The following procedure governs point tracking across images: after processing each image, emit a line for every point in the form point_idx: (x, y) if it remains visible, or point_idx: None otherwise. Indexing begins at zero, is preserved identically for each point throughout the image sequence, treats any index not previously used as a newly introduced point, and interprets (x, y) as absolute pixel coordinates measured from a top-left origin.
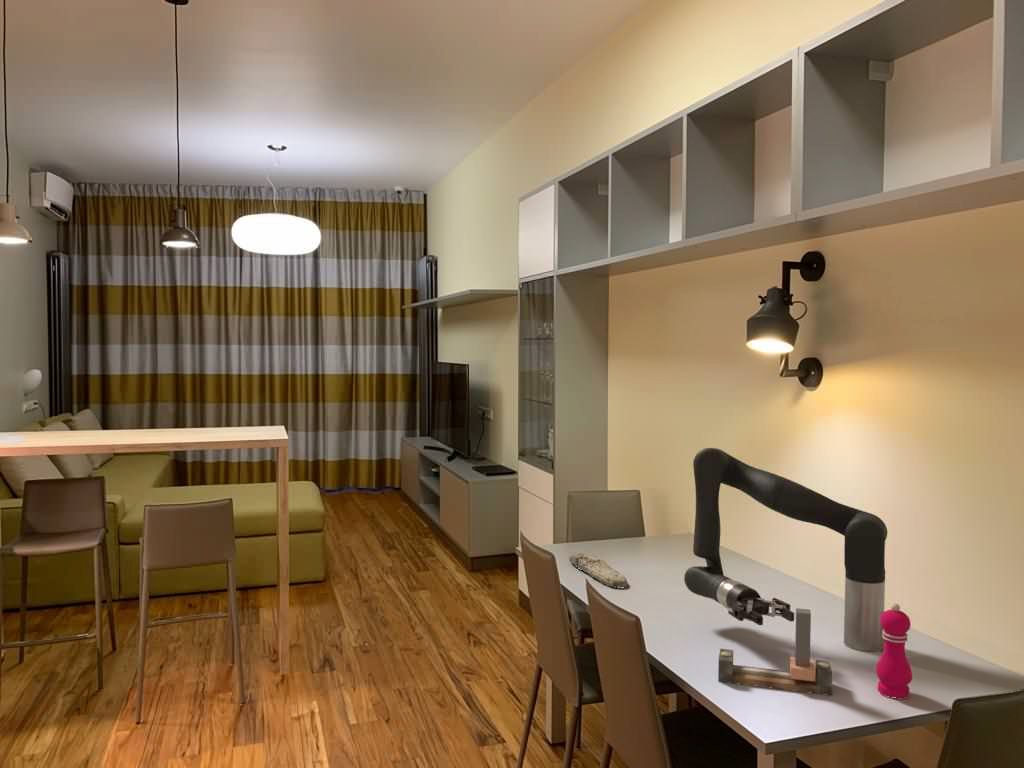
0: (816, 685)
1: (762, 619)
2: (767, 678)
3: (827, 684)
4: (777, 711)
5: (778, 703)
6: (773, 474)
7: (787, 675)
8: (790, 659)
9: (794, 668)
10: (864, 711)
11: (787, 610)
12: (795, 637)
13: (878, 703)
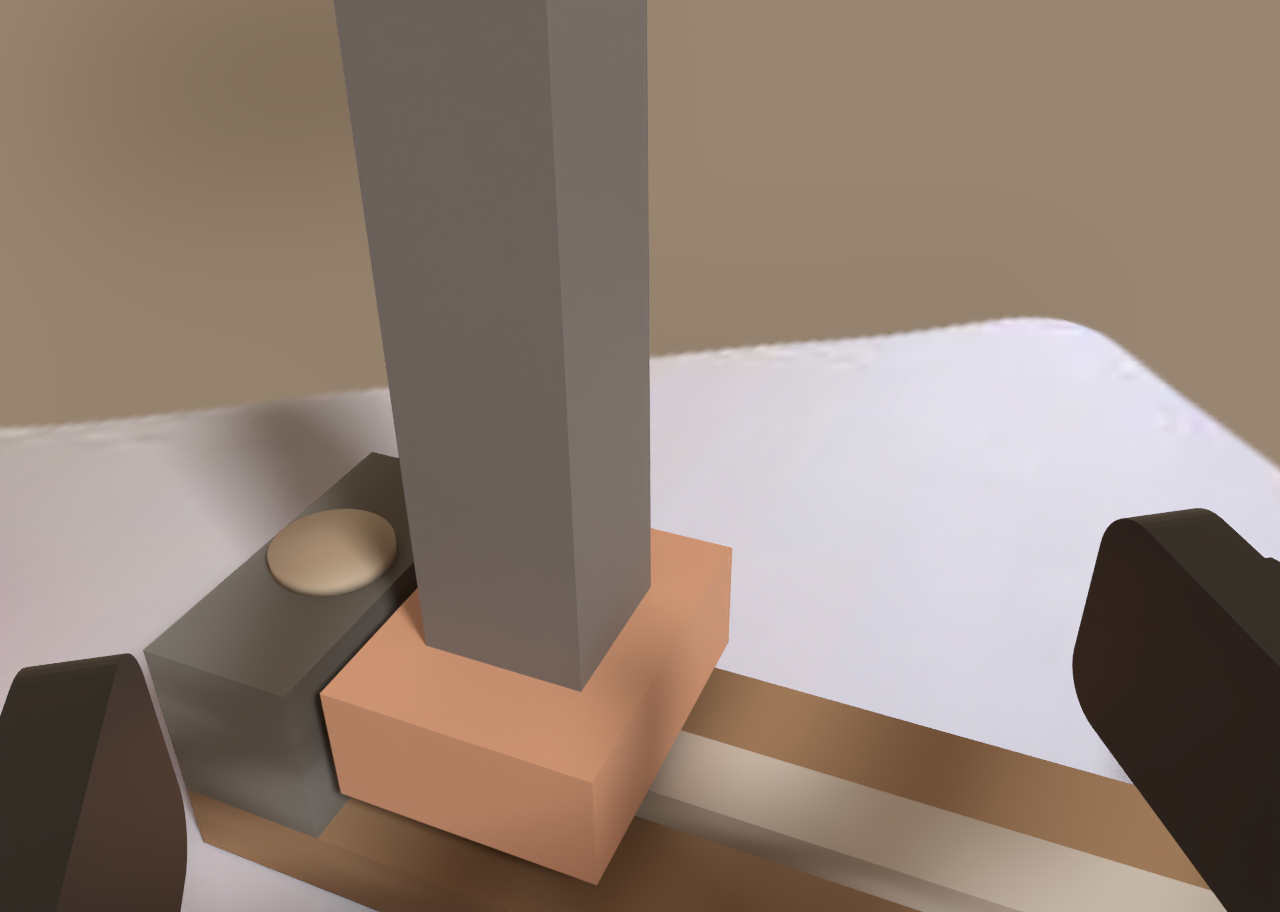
0: None
1: (1109, 557)
2: (950, 790)
3: None
4: (957, 486)
5: (919, 562)
6: None
7: (714, 746)
8: (628, 716)
9: (696, 540)
10: (338, 459)
11: (51, 822)
12: (583, 389)
13: (133, 523)
